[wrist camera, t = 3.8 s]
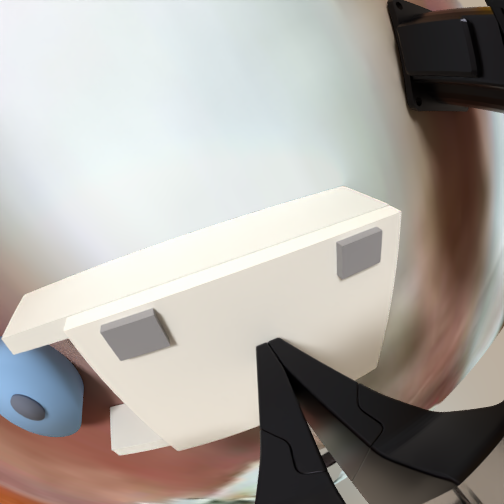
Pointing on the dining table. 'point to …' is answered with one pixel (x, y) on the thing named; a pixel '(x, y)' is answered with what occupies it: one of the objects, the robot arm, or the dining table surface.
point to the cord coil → (40, 391)
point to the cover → (244, 327)
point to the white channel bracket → (169, 269)
